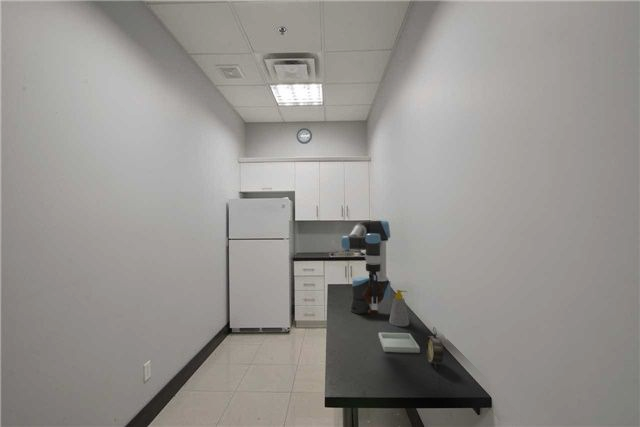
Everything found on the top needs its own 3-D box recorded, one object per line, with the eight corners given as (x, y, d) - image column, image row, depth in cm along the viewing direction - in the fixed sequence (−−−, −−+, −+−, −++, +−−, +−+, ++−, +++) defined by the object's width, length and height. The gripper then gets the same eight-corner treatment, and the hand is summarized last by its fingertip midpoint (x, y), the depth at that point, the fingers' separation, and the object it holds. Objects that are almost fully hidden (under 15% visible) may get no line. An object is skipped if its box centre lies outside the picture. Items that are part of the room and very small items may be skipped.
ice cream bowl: (370, 307, 147) (370, 279, 147) (388, 312, 139) (388, 283, 139) (358, 311, 140) (358, 282, 140) (376, 317, 131) (376, 286, 132)
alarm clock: (425, 358, 125) (425, 322, 126) (437, 358, 125) (437, 323, 125) (432, 370, 115) (432, 332, 115) (446, 371, 114) (445, 332, 115)
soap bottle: (407, 328, 161) (407, 293, 162) (386, 324, 167) (386, 291, 168) (411, 321, 172) (410, 289, 173) (391, 318, 178) (391, 287, 179)
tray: (378, 337, 148) (378, 332, 148) (409, 337, 147) (409, 333, 147) (384, 351, 131) (384, 346, 131) (419, 352, 130) (419, 347, 130)
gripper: (363, 260, 152) (363, 299, 151) (368, 266, 129) (368, 313, 128) (377, 260, 151) (377, 299, 151) (384, 267, 128) (384, 314, 127)
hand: (373, 306), depth 139 cm, fingers closed on ice cream bowl, 11 cm apart
